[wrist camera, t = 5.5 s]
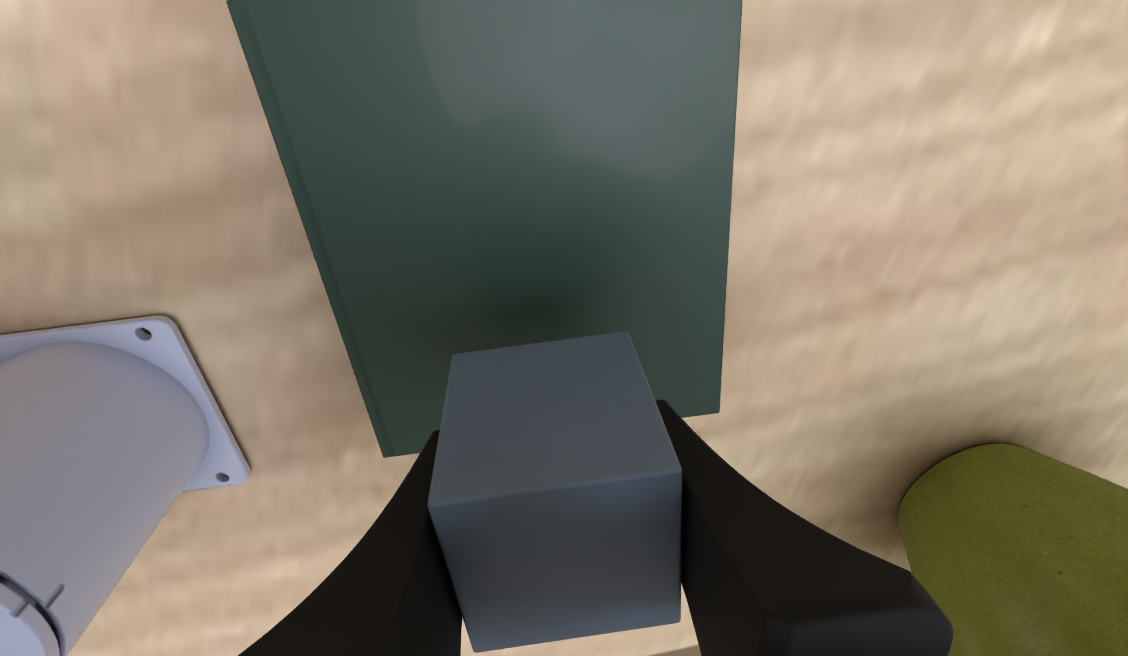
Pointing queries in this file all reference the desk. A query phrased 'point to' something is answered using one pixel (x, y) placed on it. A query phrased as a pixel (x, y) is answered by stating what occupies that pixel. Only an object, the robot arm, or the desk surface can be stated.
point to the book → (507, 181)
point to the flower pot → (1021, 553)
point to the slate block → (557, 493)
